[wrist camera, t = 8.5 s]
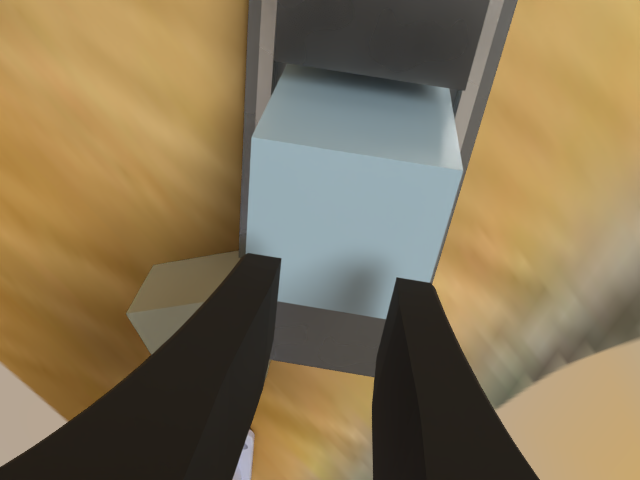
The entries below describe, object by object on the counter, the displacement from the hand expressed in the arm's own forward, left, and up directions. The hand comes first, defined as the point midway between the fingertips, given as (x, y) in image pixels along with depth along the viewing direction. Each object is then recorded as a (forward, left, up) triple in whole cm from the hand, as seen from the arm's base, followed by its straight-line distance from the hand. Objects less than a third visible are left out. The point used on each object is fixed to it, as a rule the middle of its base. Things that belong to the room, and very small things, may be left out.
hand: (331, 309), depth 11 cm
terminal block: (-9, +5, -10) cm, 14 cm away
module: (0, 0, -8) cm, 8 cm away
